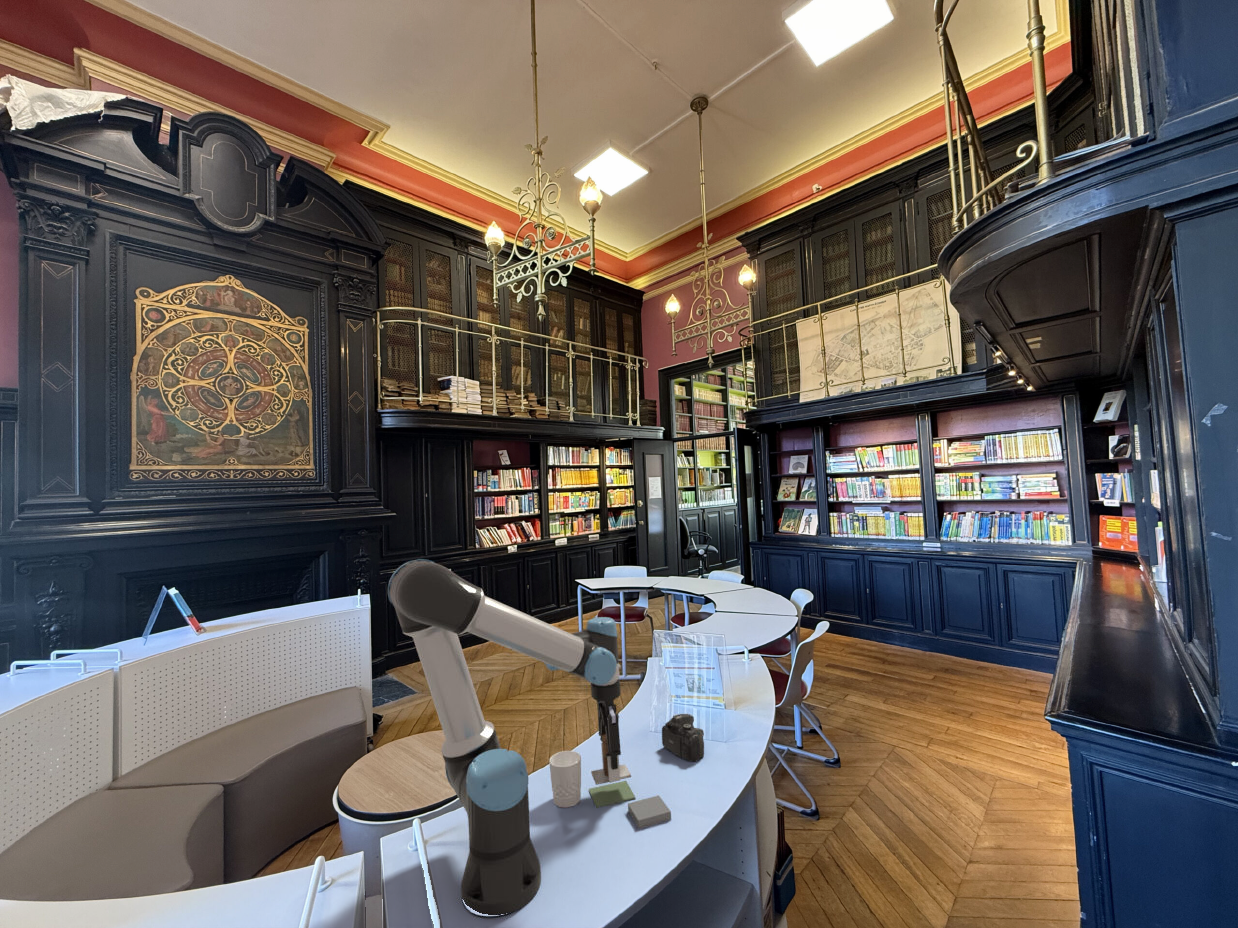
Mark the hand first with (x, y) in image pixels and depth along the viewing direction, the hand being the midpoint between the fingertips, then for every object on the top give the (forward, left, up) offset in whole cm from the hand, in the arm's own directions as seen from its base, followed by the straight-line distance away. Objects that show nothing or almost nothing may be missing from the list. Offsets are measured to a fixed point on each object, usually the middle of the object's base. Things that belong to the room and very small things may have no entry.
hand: (611, 774), depth 128 cm
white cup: (-11, +2, -5) cm, 12 cm away
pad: (0, 0, -5) cm, 5 cm away
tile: (+6, -8, -4) cm, 11 cm away
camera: (+25, +13, -5) cm, 29 cm away
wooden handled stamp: (0, 0, 0) cm, 0 cm away
